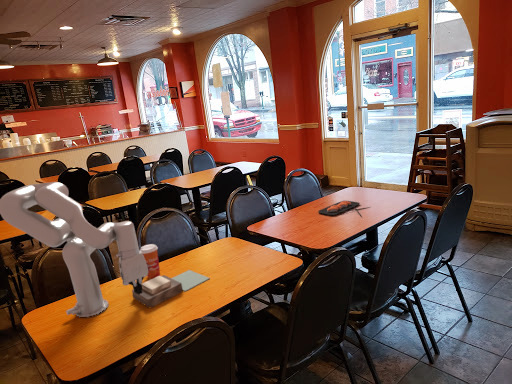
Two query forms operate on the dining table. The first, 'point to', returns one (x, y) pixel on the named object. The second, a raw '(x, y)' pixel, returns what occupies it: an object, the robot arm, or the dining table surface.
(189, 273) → the mat
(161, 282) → the beige rectangular block
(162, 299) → the grey rectangular block
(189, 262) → the dining table surface
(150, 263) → the coffee cup
